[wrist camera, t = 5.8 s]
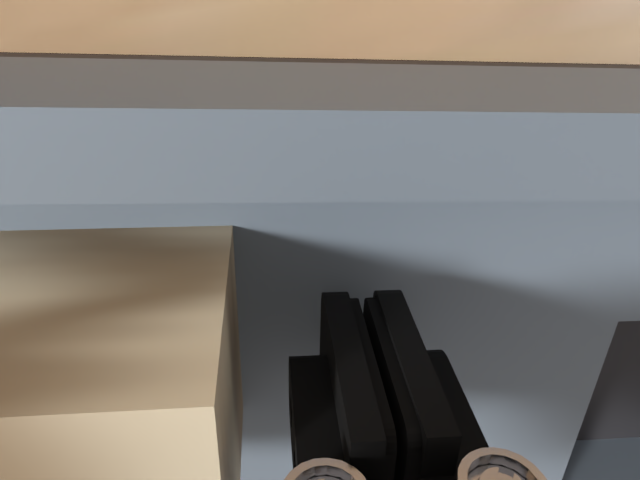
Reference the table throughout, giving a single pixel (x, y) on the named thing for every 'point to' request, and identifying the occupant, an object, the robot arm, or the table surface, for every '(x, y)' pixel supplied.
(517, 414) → the box
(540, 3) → the table surface
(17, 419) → the maple block
